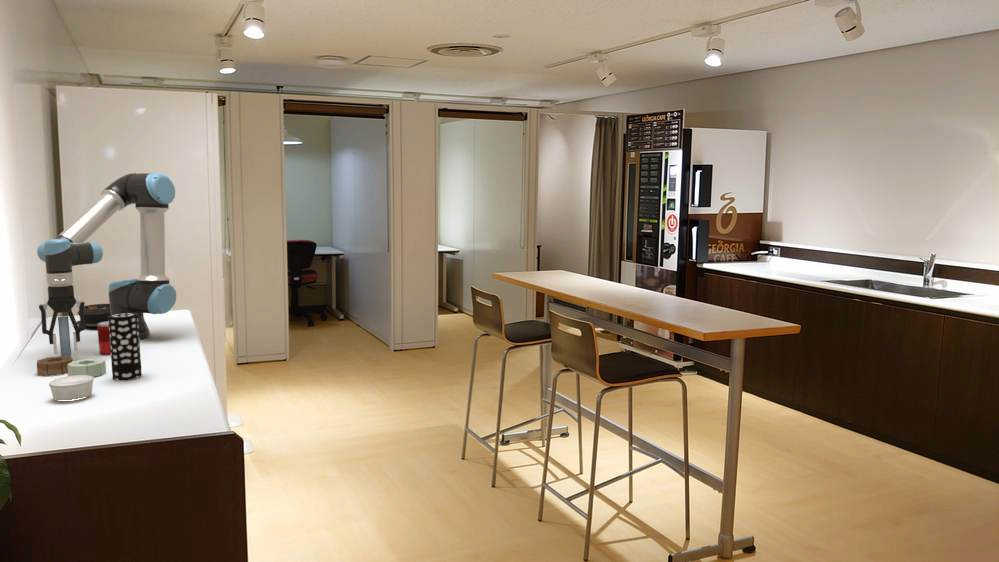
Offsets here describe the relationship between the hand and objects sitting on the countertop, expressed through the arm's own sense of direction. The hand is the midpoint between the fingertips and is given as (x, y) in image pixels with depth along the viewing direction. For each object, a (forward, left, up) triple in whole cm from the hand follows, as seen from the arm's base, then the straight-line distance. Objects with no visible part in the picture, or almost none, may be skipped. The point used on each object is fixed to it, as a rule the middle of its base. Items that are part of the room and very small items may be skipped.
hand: (65, 352), depth 256 cm
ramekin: (-2, +48, -4) cm, 48 cm away
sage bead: (-6, +21, -4) cm, 22 cm away
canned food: (-14, -10, -4) cm, 18 cm away
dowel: (0, 0, -4) cm, 4 cm away
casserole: (-12, -71, -4) cm, 72 cm away
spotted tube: (-17, +31, -4) cm, 36 cm away
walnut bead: (+3, +12, -4) cm, 13 cm away
